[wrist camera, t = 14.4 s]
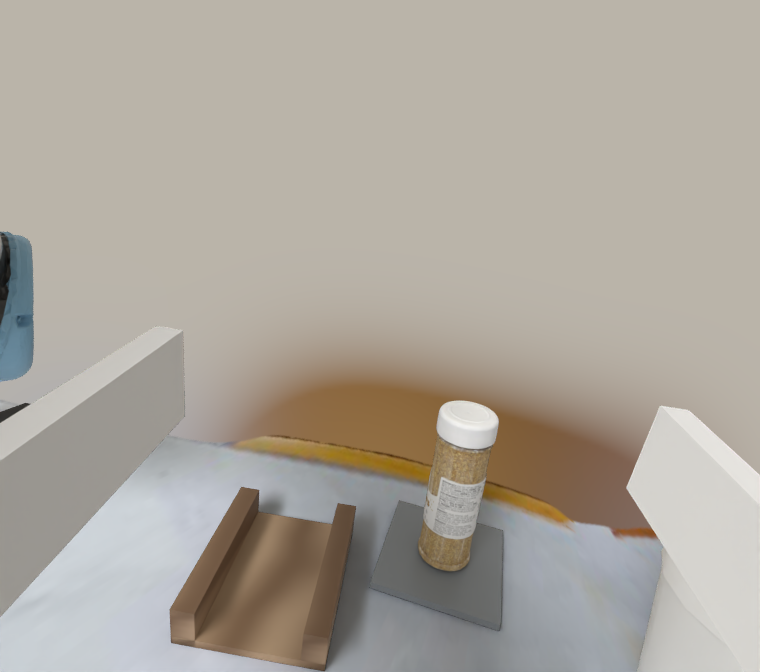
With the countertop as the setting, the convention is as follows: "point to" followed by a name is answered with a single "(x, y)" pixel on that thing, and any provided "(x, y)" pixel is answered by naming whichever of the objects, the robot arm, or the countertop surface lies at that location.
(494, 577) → the slate coaster
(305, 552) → the walnut cradle
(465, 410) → the spice jar
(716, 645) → the foam cup
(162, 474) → the countertop surface
